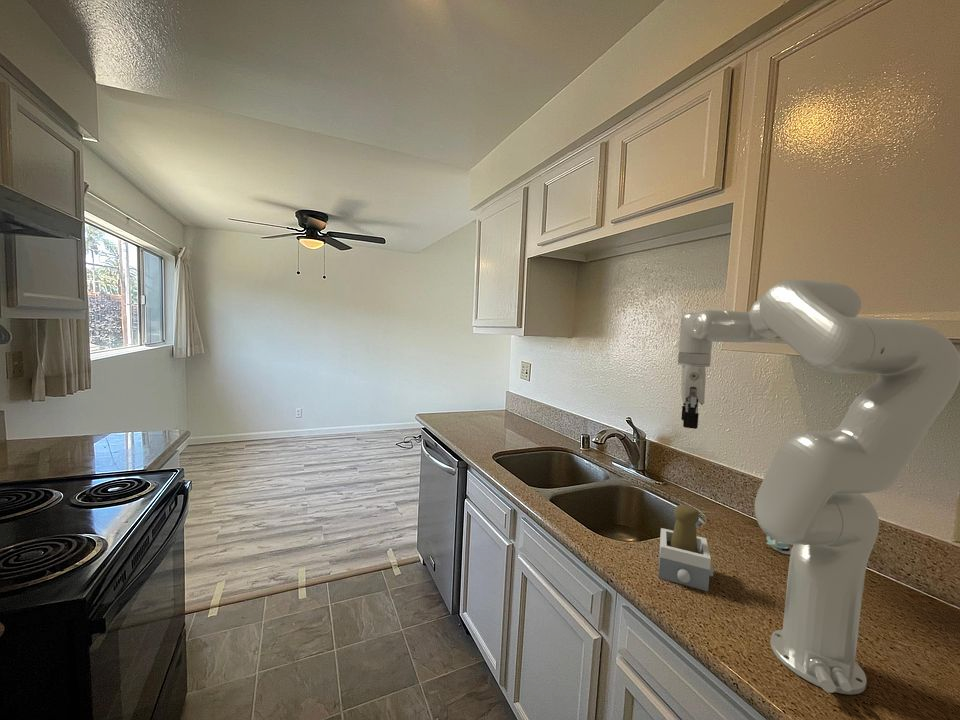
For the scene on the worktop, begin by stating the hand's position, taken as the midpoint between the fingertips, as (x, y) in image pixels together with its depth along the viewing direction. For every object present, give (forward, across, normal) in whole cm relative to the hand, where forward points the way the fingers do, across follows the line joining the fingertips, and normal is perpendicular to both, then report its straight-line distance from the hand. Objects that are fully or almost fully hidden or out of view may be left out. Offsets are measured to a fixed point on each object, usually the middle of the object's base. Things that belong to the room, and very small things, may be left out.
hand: (688, 424), depth 103 cm
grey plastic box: (+33, -14, 0) cm, 36 cm away
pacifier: (+34, +12, -25) cm, 44 cm away
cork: (+28, -14, 0) cm, 32 cm away
